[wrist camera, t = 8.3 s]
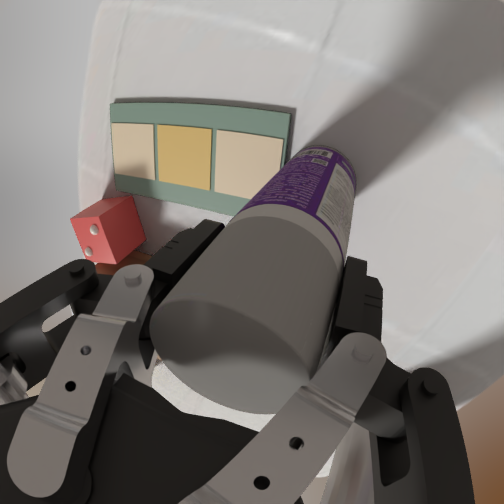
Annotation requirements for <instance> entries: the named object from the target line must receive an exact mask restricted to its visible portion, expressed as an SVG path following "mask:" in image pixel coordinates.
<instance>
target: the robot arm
mask: <svg viewBox="0 0 504 504" xmlns="http://www.w3.org/2000/svg"><path fill="white" fill-rule="evenodd" d="M224 228H225V226H224V224H223V223H220V222H216V221H212V220H208V219H204V220H203V221H202V222H201V223H200V224H198V225H197V226H196V227H195V228H194V229H192V228H189V229H187V230H184V231H182V232H180V233H178V234H177V235H176V236H175V237H173V238H172V239H171V241H169V242H168V243H167V244H166V245H165V246H164V247H162V248H161V249H160V250H159V251H158V252H157V253H156V254H155V255H153V256H152V257H151V258H150V259H149V260H148V261H147V262H146V263H145V264H144V265H140V264H134V265H128V266H125V267H123V268H121V269H119V270H118V271H117V272H116V273H115V274H114V275H107V274H97V271H96V267H95V264H94V263H93V262H92V261H90V260H87V259H78V260H74V261H72V262H70V263H68V264H66V265H64V266H62V267H60V268H59V269H57V270H55V271H53V272H52V273H50V274H48V275H46V276H45V277H43V278H41V279H39V280H38V281H36V282H34V283H33V284H31V285H29V286H28V287H26V288H24V289H23V290H21V291H19V292H18V293H16V294H14V295H13V296H11V297H9V298H8V299H6V300H5V301H3V302H2V303H0V504H304V503H303V500H302V498H301V494H302V493H303V492H304V491H305V489H306V488H307V487H308V485H309V484H310V483H311V482H312V481H313V479H314V478H315V477H316V475H317V474H318V473H319V471H320V470H321V469H322V467H323V466H324V465H325V463H326V462H327V461H328V459H329V458H330V456H331V455H332V454H333V452H334V451H335V449H336V451H335V455H334V458H333V462H332V466H331V469H330V473H329V476H328V480H327V483H326V487H325V490H324V493H323V496H322V500H321V502H320V504H475V500H474V493H473V486H472V480H471V474H470V468H469V463H468V458H467V453H466V448H465V444H464V439H463V435H462V431H461V427H460V423H459V419H458V416H457V412H456V408H455V405H454V401H453V398H452V394H451V391H450V388H449V385H448V383H447V381H446V379H445V378H444V377H443V376H442V375H441V374H440V373H439V372H437V371H436V370H433V369H431V368H419V369H417V370H415V371H414V372H412V374H411V373H409V372H407V371H405V370H403V369H401V368H400V367H398V366H396V365H395V364H393V363H392V362H391V361H390V360H389V359H388V358H387V355H386V350H385V348H384V346H383V345H382V343H381V332H382V306H383V301H382V299H383V288H382V286H381V284H380V282H379V281H378V279H377V278H374V277H370V276H367V275H366V274H367V261H365V260H361V259H357V258H354V257H350V256H348V257H347V260H346V263H345V266H344V270H343V275H342V280H341V284H340V288H339V293H338V296H337V300H336V304H335V308H334V312H333V316H332V320H331V324H330V327H329V331H328V335H327V338H326V342H325V345H324V349H323V352H322V356H321V359H320V362H319V366H318V369H317V372H316V374H315V375H314V377H313V378H312V379H311V380H310V382H309V383H308V384H307V385H306V386H301V387H300V388H299V389H298V390H297V391H296V392H295V393H294V394H293V396H292V397H291V398H290V399H289V400H288V401H287V402H286V404H285V405H284V406H283V407H282V408H281V409H280V410H279V411H278V413H277V414H276V415H275V416H274V417H273V418H272V419H271V420H270V421H269V422H268V423H267V425H266V426H265V427H264V428H263V429H262V430H261V431H260V432H257V431H255V430H252V429H249V428H246V427H243V426H240V425H237V424H235V423H232V422H229V421H227V420H223V419H216V418H210V417H204V416H198V415H193V414H187V413H184V412H181V411H180V410H178V409H177V408H176V407H175V406H173V405H172V404H171V403H170V402H169V401H167V400H166V399H165V398H164V397H163V396H161V395H160V394H159V393H158V392H157V391H156V390H154V389H153V388H152V374H153V371H154V367H155V363H156V360H157V356H158V354H157V352H156V350H155V348H154V346H153V343H152V340H151V337H150V329H149V326H150V320H151V316H152V314H153V313H154V311H155V310H156V309H157V307H158V306H159V305H160V304H161V302H162V301H163V300H164V299H165V298H166V296H167V295H168V294H169V293H170V291H171V290H172V289H173V288H174V287H175V285H176V284H177V283H178V282H179V281H180V279H181V278H182V277H183V276H184V275H185V273H186V272H187V271H188V270H189V269H190V267H191V266H192V265H193V264H194V263H195V262H196V260H197V259H198V258H199V257H200V256H201V254H202V253H203V252H204V251H205V250H206V249H207V247H208V246H209V245H210V244H211V243H212V242H213V240H214V239H215V238H216V237H217V236H218V235H219V233H220V232H221V231H222V230H223V229H224ZM69 304H70V306H71V309H72V311H73V313H74V315H73V316H71V317H70V318H68V319H67V320H65V321H64V322H62V323H61V324H59V325H58V326H56V327H55V328H53V329H51V330H50V331H48V332H43V331H42V324H43V322H44V321H45V320H46V319H47V318H48V317H50V316H52V315H53V314H55V313H56V312H58V311H60V310H61V309H63V308H64V307H66V306H67V305H69ZM46 377H47V378H46ZM44 378H46V380H45V383H44V385H43V387H42V389H41V392H40V394H39V395H36V396H33V397H28V395H27V393H26V391H28V390H29V389H30V388H32V387H33V386H35V385H36V384H37V383H39V382H40V381H42V380H43V379H44Z"/></svg>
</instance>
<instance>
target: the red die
mask: <svg viewBox="0 0 504 504" xmlns="http://www.w3.org/2000/svg"><path fill="white" fill-rule="evenodd" d="M70 220H71V223H72V226H73V228H74V231H75V233H76V236H77V238H78V241H79V243H80V246H81V248H82V251H83V253H84V255H85V258H86V259H87V260H90V261H92V262H99V263H109V264H118V263H119V262H120V261H121V260H122V259H123V258H125V257H126V256H127V255H128V254H129V253H131V252H132V251H133V250H134V249H135V248H137V247H138V246H139V245H140V244H141V243H143V242H144V241H145V240H146V237H145V234H144V231H143V228H142V225H141V222H140V219H139V216H138V213H137V210H136V206H135V203H134V200H133V197H132V196H124V197H116V198H108V199H102V200H100V201H98V202H96V203H95V204H93V205H91V206H90V207H88V208H87V209H85V210H83V211H82V212H80V213H79V214H77V215H76V216H74V217H72V218H71V219H70Z"/></svg>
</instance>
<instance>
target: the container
mask: <svg viewBox="0 0 504 504" xmlns="http://www.w3.org/2000/svg"><path fill="white" fill-rule="evenodd" d="M355 190H356V176H355V172H354V169H353V167H352V165H351V163H350V162H349V160H348V159H347V158H346V157H345V156H344V155H343V154H342V153H340V152H339V151H337V150H335V149H333V148H330V147H326V146H311V147H308V148H305V149H303V150H301V151H300V152H298V153H297V154H296V155H295V156H294V157H293V158H292V159H291V160H289V161H288V162H287V163H286V164H285V165H284V166H283V167H282V168H281V169H280V170H279V171H278V172H277V173H276V174H275V175H274V176H273V177H272V178H271V179H270V180H269V181H268V182H267V183H266V184H265V185H264V186H263V187H262V189H261V190H260V191H259V192H258V193H257V194H256V195H255V196H254V197H253V198H252V199H251V200H250V201H249V202H248V203H247V204H246V205H245V206H244V207H243V208H242V209H241V210H240V211H239V212H238V213H237V214H236V215H235V216H234V217H233V218H232V219H231V220H230V222H229V223H228V224H227V225H226V227H225V228H224V229H223V230H222V231H221V232H220V233H219V235H218V236H217V237H216V238H215V239H214V240H213V242H212V243H211V244H210V245H209V246H208V247H207V249H206V250H205V251H204V252H203V253H202V254H201V256H200V257H199V258H198V259H197V260H196V262H195V263H194V264H193V265H192V266H191V267H190V269H189V270H188V271H187V272H186V273H185V275H184V276H183V277H182V278H181V279H180V281H179V282H178V283H177V284H176V285H175V287H174V288H173V289H172V290H171V291H170V293H169V294H168V295H167V296H166V298H165V299H164V300H163V301H162V302H161V304H160V305H159V306H158V307H157V309H156V310H155V311H154V313H153V314H152V316H151V320H150V326H149V329H150V337H151V340H152V343H153V346H154V348H155V350H156V352H157V354H158V355H159V357H160V358H161V360H162V361H163V363H164V364H165V365H166V366H167V367H168V369H169V370H170V371H171V372H172V373H173V374H174V375H175V376H176V377H177V378H178V379H179V380H181V381H182V382H183V383H184V384H186V385H187V386H188V387H190V388H191V389H192V390H194V391H195V392H197V393H199V394H200V395H202V396H204V397H206V398H207V399H209V400H211V401H213V402H216V403H218V404H220V405H223V406H226V407H229V408H232V409H235V410H238V411H243V412H248V413H254V414H277V413H278V411H279V410H280V409H281V408H282V407H283V406H284V405H285V404H286V402H287V401H288V400H289V399H290V398H291V397H292V396H293V394H294V393H295V392H296V391H297V390H298V389H299V388H300V387H301V386H306V385H307V384H308V383H309V382H310V380H311V379H312V378H313V377H314V375H315V374H316V372H317V369H318V366H319V362H320V359H321V356H322V352H323V349H324V345H325V342H326V338H327V335H328V331H329V327H330V324H331V320H332V316H333V312H334V308H335V304H336V300H337V296H338V293H339V288H340V284H341V280H342V275H343V270H344V265H345V260H346V254H347V247H348V241H349V235H350V228H351V221H352V214H353V206H354V198H355Z"/></svg>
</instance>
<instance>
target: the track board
mask: <svg viewBox="0 0 504 504" xmlns="http://www.w3.org/2000/svg"><path fill="white" fill-rule="evenodd" d="M290 120H291V114H290V113H284V112H277V111H270V110H262V109H254V108H246V107H236V106H225V105H212V104H196V103H168V102H134V103H112V104H110V122H111V140H112V154H113V166H114V176H115V186H116V190H118V191H122V192H127V193H132V194H137V195H141V196H146V197H151V198H155V199H160V200H165V201H169V202H174V203H178V204H183V205H187V206H191V207H196V208H200V209H204V210H209V211H213V212H217V213H222V214H226V215H230V216H235V215H236V214H237V213H238V212H239V211H240V210H241V209H242V208H243V207H244V206H245V205H246V204H247V203H248V202H249V201H250V200H251V199H252V198H253V197H254V196H255V195H256V194H257V193H258V192H259V191H260V190H261V189H262V187H263V186H264V185H265V184H266V183H267V182H268V181H269V180H270V179H271V178H272V177H273V176H274V175H275V174H276V173H277V172H278V171H279V170H280V169H281V168H282V167H283V166H284V165H285V161H286V153H287V145H288V137H289V128H290Z"/></svg>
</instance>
